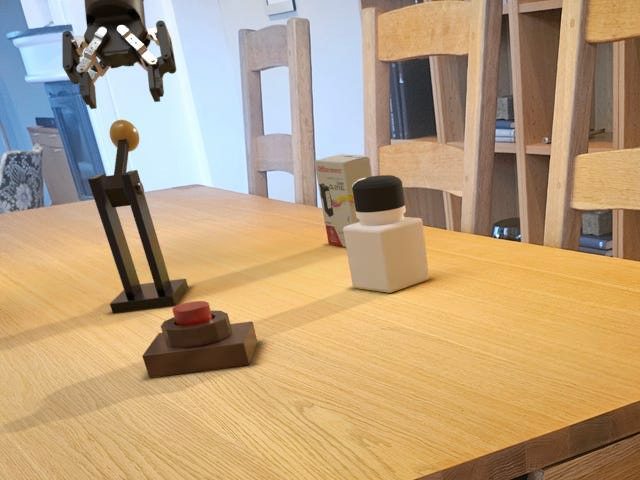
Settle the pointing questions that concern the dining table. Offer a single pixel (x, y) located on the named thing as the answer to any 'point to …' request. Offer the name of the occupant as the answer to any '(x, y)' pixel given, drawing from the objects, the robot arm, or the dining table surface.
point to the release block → (200, 346)
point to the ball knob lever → (120, 161)
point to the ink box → (340, 191)
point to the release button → (192, 313)
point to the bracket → (134, 292)
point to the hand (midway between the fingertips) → (123, 100)
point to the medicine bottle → (384, 238)
